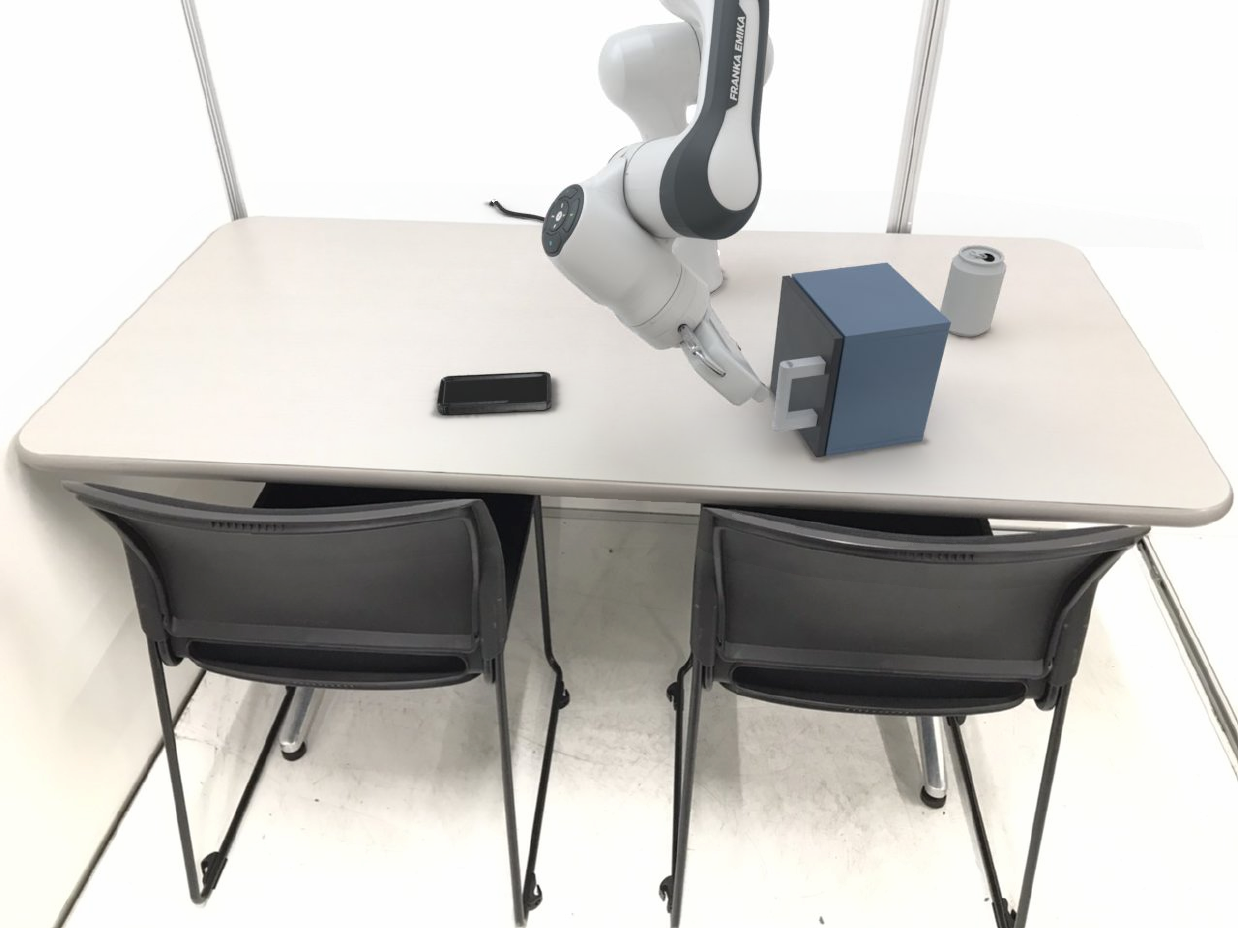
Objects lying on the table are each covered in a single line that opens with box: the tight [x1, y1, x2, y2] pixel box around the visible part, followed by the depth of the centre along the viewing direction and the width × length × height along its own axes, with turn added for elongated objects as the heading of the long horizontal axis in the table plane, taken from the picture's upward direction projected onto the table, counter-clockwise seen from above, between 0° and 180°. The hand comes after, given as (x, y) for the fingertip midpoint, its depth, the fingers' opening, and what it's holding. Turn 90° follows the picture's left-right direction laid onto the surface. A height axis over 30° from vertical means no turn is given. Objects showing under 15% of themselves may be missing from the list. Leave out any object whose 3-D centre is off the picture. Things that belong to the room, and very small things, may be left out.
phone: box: [436, 371, 552, 415], centre depth 123 cm, size 8×1×15 cm
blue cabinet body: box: [791, 262, 951, 457], centre depth 114 cm, size 13×16×17 cm
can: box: [939, 244, 1007, 338], centre depth 133 cm, size 8×8×12 cm
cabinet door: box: [769, 274, 843, 458], centre depth 112 cm, size 6×16×17 cm, turn 13°
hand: (748, 372), depth 104 cm, fingers open, 8 cm apart
